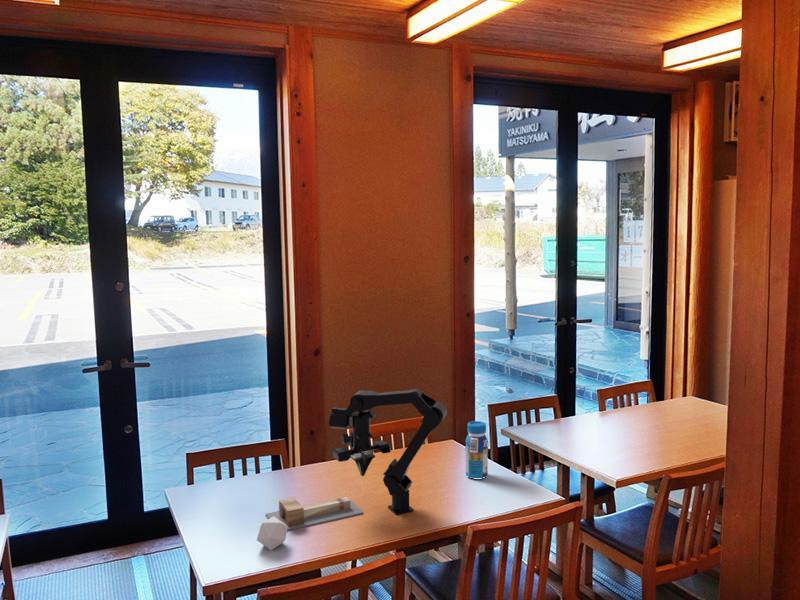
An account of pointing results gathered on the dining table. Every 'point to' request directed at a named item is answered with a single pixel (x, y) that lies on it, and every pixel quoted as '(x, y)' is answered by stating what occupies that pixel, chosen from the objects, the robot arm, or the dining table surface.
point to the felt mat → (321, 516)
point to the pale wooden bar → (326, 507)
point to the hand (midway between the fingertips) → (362, 475)
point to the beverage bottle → (476, 450)
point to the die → (272, 533)
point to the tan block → (291, 511)
